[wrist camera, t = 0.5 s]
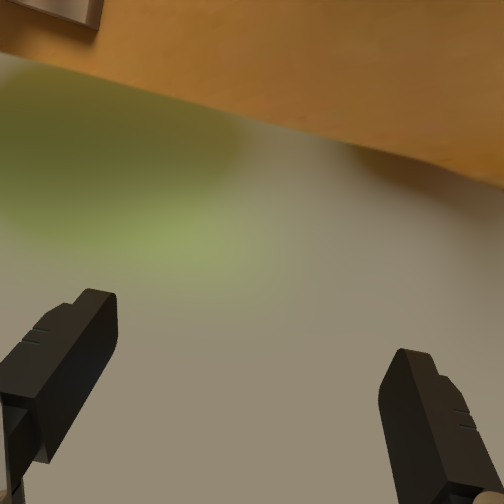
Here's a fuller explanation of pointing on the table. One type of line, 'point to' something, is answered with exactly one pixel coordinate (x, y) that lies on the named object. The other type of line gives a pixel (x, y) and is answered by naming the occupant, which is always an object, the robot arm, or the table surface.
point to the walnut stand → (69, 10)
